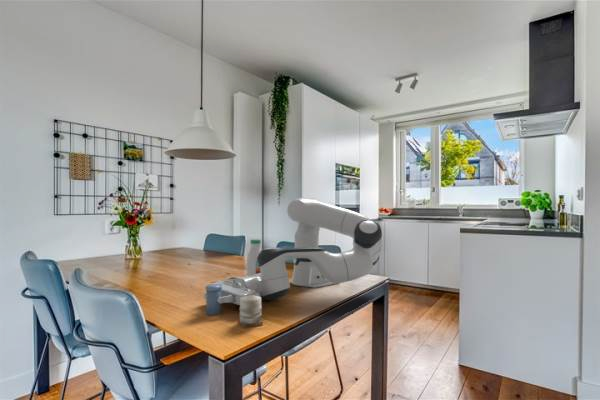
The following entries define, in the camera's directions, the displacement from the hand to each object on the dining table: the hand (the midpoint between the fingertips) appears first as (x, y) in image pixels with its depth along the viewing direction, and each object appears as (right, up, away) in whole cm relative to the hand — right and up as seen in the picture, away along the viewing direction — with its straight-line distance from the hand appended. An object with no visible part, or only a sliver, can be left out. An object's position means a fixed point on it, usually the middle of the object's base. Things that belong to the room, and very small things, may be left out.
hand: (211, 298), depth 101 cm
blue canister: (+1, -5, +1) cm, 5 cm away
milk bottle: (+9, -6, +38) cm, 40 cm away
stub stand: (+14, -5, -8) cm, 17 cm away
